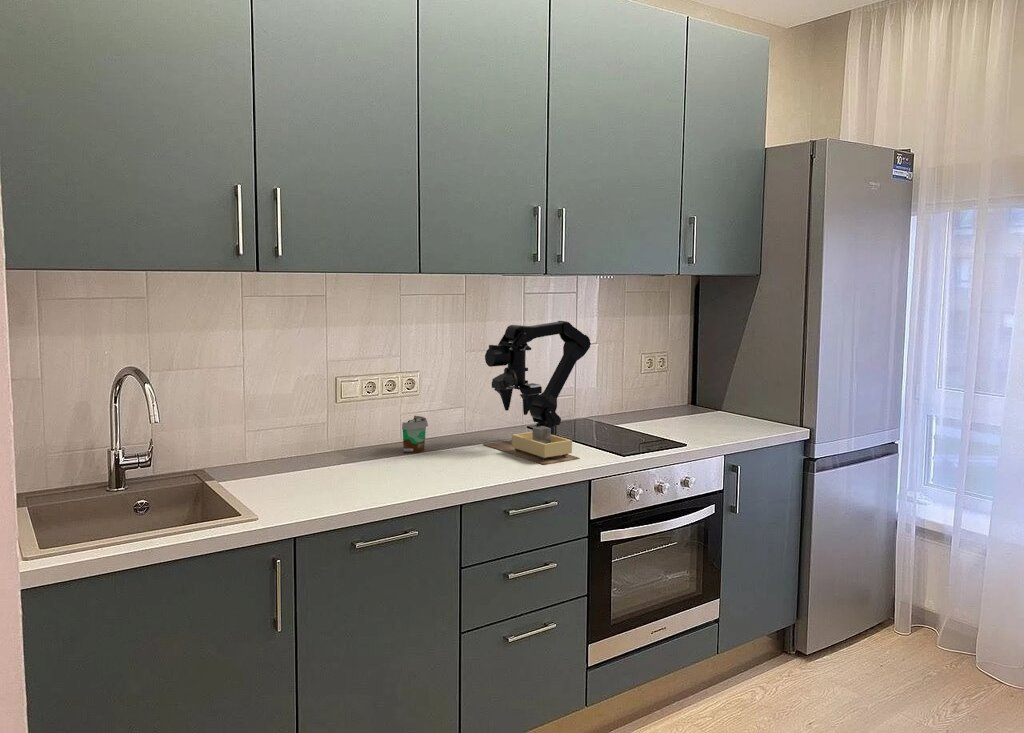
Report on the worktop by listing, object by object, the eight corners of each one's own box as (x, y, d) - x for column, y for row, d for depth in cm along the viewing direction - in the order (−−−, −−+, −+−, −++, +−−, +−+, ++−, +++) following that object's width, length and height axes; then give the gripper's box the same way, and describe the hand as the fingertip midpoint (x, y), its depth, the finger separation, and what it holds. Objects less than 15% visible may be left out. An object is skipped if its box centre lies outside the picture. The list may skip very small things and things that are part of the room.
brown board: (517, 439, 281) (517, 438, 281) (579, 458, 256) (579, 457, 256) (482, 444, 273) (482, 443, 273) (543, 465, 247) (543, 464, 247)
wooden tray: (538, 446, 269) (538, 430, 269) (571, 456, 256) (572, 440, 255) (511, 450, 263) (511, 434, 262) (544, 461, 250) (544, 444, 249)
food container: (421, 455, 257) (421, 423, 255) (401, 454, 258) (401, 422, 257) (432, 447, 269) (432, 416, 267) (414, 445, 270) (414, 415, 269)
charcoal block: (542, 444, 262) (542, 426, 261) (550, 447, 259) (550, 428, 258) (532, 446, 260) (532, 427, 259) (540, 449, 256) (540, 429, 256)
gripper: (478, 363, 270) (478, 411, 272) (516, 369, 256) (515, 420, 258) (505, 360, 277) (504, 407, 279) (543, 367, 263) (542, 415, 265)
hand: (516, 412), depth 270 cm, fingers open, 9 cm apart
